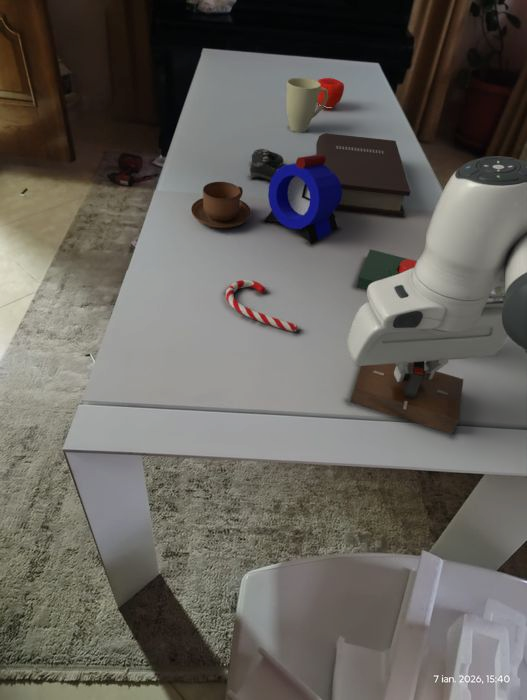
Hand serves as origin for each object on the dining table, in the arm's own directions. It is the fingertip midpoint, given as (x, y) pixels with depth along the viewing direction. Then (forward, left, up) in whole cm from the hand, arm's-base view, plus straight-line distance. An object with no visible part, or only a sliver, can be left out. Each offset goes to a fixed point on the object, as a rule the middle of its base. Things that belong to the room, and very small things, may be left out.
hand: (411, 377), depth 69 cm
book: (+21, -64, -4) cm, 67 cm away
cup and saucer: (+43, -34, -4) cm, 55 cm away
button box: (+6, -28, -4) cm, 29 cm away
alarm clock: (+27, -40, -4) cm, 48 cm away
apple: (+41, -112, -4) cm, 119 cm away
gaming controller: (+42, -59, -4) cm, 72 cm away
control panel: (0, 0, -4) cm, 4 cm away
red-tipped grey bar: (0, 0, -1) cm, 1 cm away
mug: (+43, -91, -4) cm, 101 cm away
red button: (+4, -26, -1) cm, 26 cm away
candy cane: (+25, -10, -4) cm, 27 cm away
